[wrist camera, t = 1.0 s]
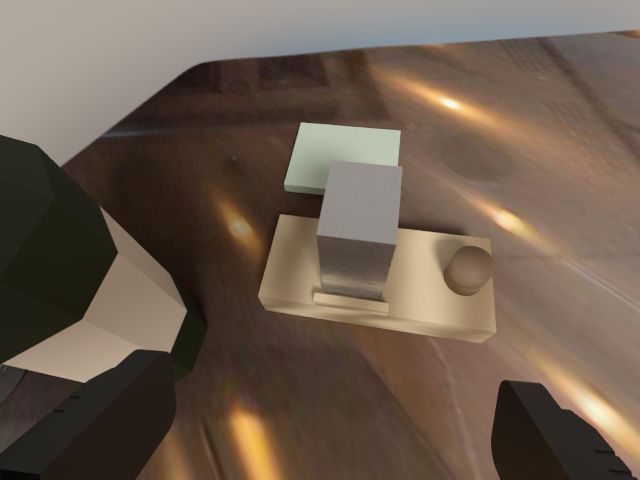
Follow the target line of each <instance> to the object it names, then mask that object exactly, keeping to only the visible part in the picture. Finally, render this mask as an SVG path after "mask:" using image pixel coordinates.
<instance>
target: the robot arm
mask: <svg viewBox="0 0 640 480" xmlns="http://www.w3.org/2000/svg"><path fill="white" fill-rule="evenodd" d="M25 371H26V369H22V368H18V367H13V366H9V365H5V364H0V404H1V403H2V402H3V401H4V400H5V399H6V398H7V397H8V395H9V394H10V393H11V392H12V391H13V390H14V388H15V387H16V386H17V384H18V382H19V381H20V379H21V378H22V376H23V375H24V373H25ZM175 412H176V397H175V387H174V377H173V367H172V358H171V355H170V354H169V353H168V352H167V351H156V350H144V349H137V350H134V351H133V352H132V353H131V354H129V355H128V356H127V357H126V358H125V359H124V360H123V361H121V362H120V363H119V364H118V365H117V366H116V367H114V368H110V369H109V370H107V371H105V372H103V373H101V374H99V375H97V376H95V377H93V378H92V379H90V380H88V381H87V382H86V383H84V384H83V385H82V386H81V387H80V388H78V389H77V390H76V391H75V392H74V393H72V394H71V395H70V397H69V399H65V400H64V401H63V402H62V403H60V404H59V405H58V406H57V407H56V408H54V410H53V412H52V413H48V414H47V415H46V416H45V417H44V418H42V419H41V420H40V421H39V422H38V423H36V424H35V425H34V426H33V427H32V428H30V429H29V430H28V431H27V432H26V433H25V434H23V435H22V436H21V437H20V438H19V439H17V440H16V441H15V442H14V443H13V444H11V445H10V446H9V447H8V448H7V449H5V450H4V451H3V452H2V453H1V454H0V480H135V479H136V477H137V476H138V474H139V473H140V472H141V470H142V469H143V467H144V466H145V464H146V463H147V461H148V460H149V459H150V457H151V456H152V454H153V453H154V451H155V450H156V449H157V447H158V446H159V444H160V443H161V441H162V440H163V438H164V437H165V436H166V434H167V433H168V431H169V429H170V427H171V425H172V423H173V420H174V417H175ZM491 449H492V456H493V461H494V464H495V467H496V470H497V472H498V475H499V477H500V480H638V479H637V478H636V477H633V476H632V474H631V471H630V470H629V468H628V467H627V466H626V465H625V464H624V462H623V461H622V460H621V459H620V458H619V457H617V456H615V452H614V450H613V449H612V448H611V447H610V446H609V444H608V443H607V442H606V441H605V440H604V438H603V437H602V436H601V435H600V434H599V432H598V431H597V430H596V429H595V428H594V427H592V426H591V425H590V424H588V423H587V422H586V421H584V420H583V419H582V418H580V417H579V416H578V415H576V414H575V413H574V412H572V411H571V410H565V409H561V408H560V406H559V405H558V404H557V402H556V401H555V400H554V399H553V397H552V396H551V395H550V393H549V392H548V391H547V389H546V388H545V387H544V386H543V385H542V384H540V383H533V382H521V381H509V380H504V381H502V382H501V384H500V387H499V391H498V398H497V404H496V410H495V416H494V423H493V429H492V435H491Z"/></svg>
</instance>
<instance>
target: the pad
mask: <svg viewBox="0 0 640 480" xmlns="http://www.w3.org/2000/svg"><path fill="white" fill-rule="evenodd" d="M399 143H400V131H397V130H385V129H373V128H361V127H349V126H336V125H324V124H312V123H301V125H300V128H299V132H298V135H297V139H296V143H295V146H294V150H293V153H292V157H291V161H290V164H289V168H288V171H287V175H286V179H285V182H284V187H285V191H289V192H298V193H308V194H317V195H325V190H326V185H327V180H328V175H329V170H330V165H331V161H332V160H336V161H346V162H357V163H367V164H378V165H388V166H398V154H399Z"/></svg>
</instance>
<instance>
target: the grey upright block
mask: <svg viewBox="0 0 640 480" xmlns="http://www.w3.org/2000/svg"><path fill="white" fill-rule="evenodd" d="M401 180H402V167H399V166H388V165H378V164H367V163H357V162H346V161H336V160H332V161H331V165H330V170H329V175H328V180H327V185H326V190H325V195H324V200H323V204H322V209H321V214H320V219H319V224H318V229H317V234H316V237H317V245H318V253H319V261H320V270H321V278H322V286H323V292H324V293H331V294H338V295H345V296H351V297H358V298H365V299H372V300H379V301H381V298H382V294H383V291H384V287H385V284H386V280H387V277H388V273H389V269H390V266H391V262H392V259H393V255H394V252H395V248H396V244H397V232H398V219H399V206H400V193H401Z"/></svg>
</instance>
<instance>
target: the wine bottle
mask: <svg viewBox="0 0 640 480" xmlns="http://www.w3.org/2000/svg"><path fill="white" fill-rule="evenodd" d="M207 329H208V328H207V326H206V323H205V321H204V319H203V317H202V315H201V313H200V311H199V309H198V307H197V305H196V303H195V301H194V299H193V297H192V295H191V294H190V293H189V292H188V291H187V290H186V289H185V288H184V287H183V286H182V285H180V284H179V283H178V282H177V281H176V280H175V279H174V278H173V277H172V276H171V275H170V274H169V273H168V272H167V271H166V270H165V269H164V268H163V267H162V266H161V265H160V264H159V263H158V262H157V261H156V260H155V259H154V258H153V257H152V256H151V255H150V254H149V253H148V252H147V251H145V250H144V249H143V248H142V247H141V246H140V245H139V244H138V243H137V242H136V241H135V240H134V239H133V238H132V237H131V236H130V235H129V234H128V233H127V232H126V231H125V230H124V229H123V228H122V227H121V226H120V225H119V224H118V223H117V222H116V221H115V220H114V219H113V218H112V217H110V216H109V215H108V214H107V213H106V212H105V211H104V210H103V209H102V208H101V207H100V206H99V205H98V204H97V203H96V202H95V201H94V200H93V199H92V198H91V197H90V196H89V195H88V194H87V193H86V192H85V191H84V190H83V189H82V188H81V187H80V186H79V185H78V184H77V183H75V182H74V181H73V180H72V179H71V178H70V177H69V176H68V175H67V174H66V173H65V172H64V171H63V170H62V169H61V168H60V167H59V166H58V165H57V164H56V163H55V162H54V161H53V160H52V159H51V158H50V157H49V156H48V155H46V153H44V151H43V150H41V149H40V148H39V147H38V146H37V145H34V144H31V143H27V142H24V141H20V140H16V139H13V138H9V137H6V136H2V135H0V364H5V365H9V366H13V367H18V368H22V369H27V370H31V371H36V372H40V373H44V374H49V375H53V376H58V377H62V378H67V379H71V380H75V381H80V382H84V383H86V382H87V381H88V380H90V379H92V378H93V377H95V376H97V375H99V374H101V373H103V372H105V371H107V370H109V369H110V368H114V367H116V366H117V365H118V364H119V363H120V362H121V361H123V360H124V359H125V358H126V357H127V356H128V355H129V354H131V353H132V352H133V351H134V350H137V349H144V350H156V351H167V352H168V353H169V354H170V355H171V358H172V367H173V377H174V382H175V381H177V380H178V379H180V378H182V377H183V376H185V375H186V374H188V373H190V372H191V371H192V370H193V367H194V364H195V361H196V359H197V356H198V353H199V350H200V348H201V345H202V342H203V339H204V337H205V334H206V331H207Z"/></svg>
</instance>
